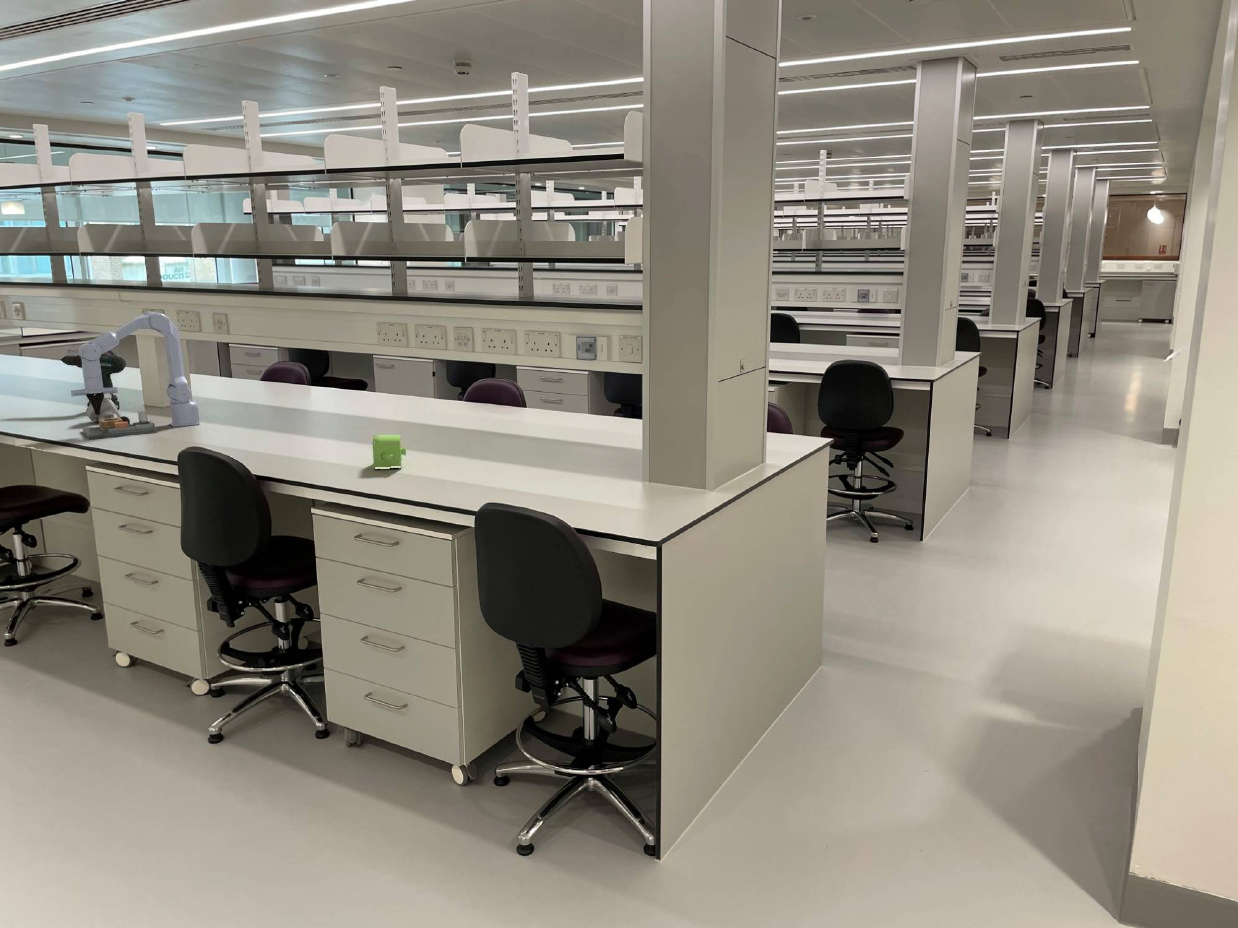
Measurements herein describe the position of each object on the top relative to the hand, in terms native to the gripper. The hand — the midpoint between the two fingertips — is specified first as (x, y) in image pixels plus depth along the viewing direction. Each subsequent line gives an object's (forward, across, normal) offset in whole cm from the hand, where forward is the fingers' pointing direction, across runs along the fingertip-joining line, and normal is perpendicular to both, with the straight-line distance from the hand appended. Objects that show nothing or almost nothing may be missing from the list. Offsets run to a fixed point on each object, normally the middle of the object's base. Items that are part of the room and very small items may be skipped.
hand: (97, 414), depth 319 cm
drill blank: (+6, +15, 0) cm, 16 cm away
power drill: (+8, +6, +50) cm, 51 cm away
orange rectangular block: (+6, +7, 0) cm, 10 cm away
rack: (+6, +5, +6) cm, 10 cm away
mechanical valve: (+8, +7, +20) cm, 23 cm away
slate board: (+8, +7, +2) cm, 10 cm away
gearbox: (+8, +69, -104) cm, 125 cm away
